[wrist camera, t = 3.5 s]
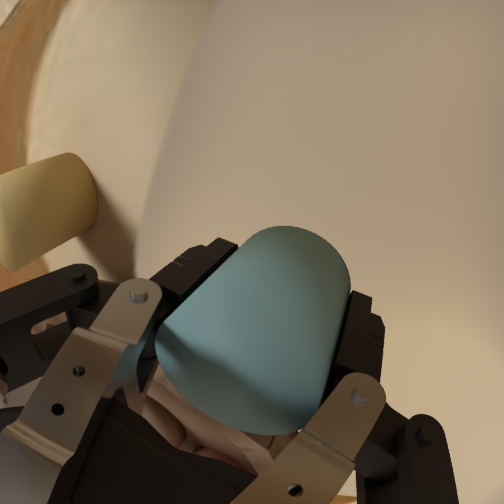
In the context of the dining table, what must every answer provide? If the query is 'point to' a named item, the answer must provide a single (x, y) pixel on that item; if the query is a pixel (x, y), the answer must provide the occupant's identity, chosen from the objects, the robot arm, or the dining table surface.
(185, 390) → the pale blue rounded piece
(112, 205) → the dining table surface
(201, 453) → the pink rounded piece
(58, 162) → the ochre bead
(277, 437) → the walnut tray
